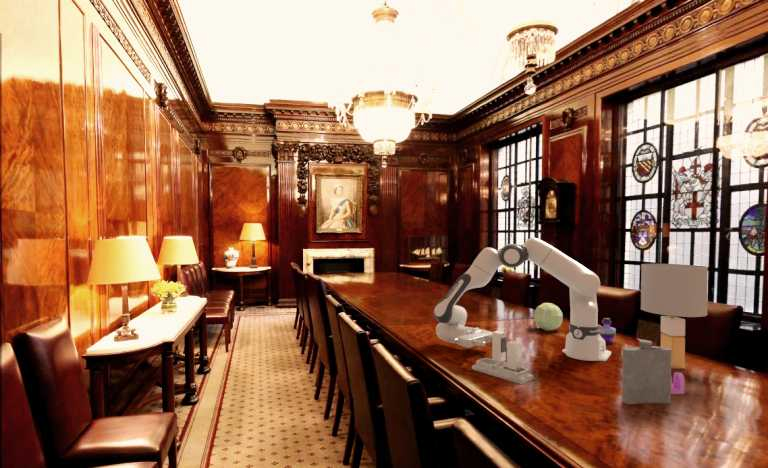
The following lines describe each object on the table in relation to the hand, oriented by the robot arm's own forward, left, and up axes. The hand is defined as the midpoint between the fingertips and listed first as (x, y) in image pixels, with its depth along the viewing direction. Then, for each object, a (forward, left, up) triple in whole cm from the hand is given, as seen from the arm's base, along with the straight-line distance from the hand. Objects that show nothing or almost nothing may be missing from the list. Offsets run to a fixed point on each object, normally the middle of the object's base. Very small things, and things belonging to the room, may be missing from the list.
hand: (490, 342), depth 186 cm
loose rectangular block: (0, +4, -7) cm, 8 cm away
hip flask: (+2, +61, -7) cm, 62 cm away
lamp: (-48, +56, -7) cm, 74 cm away
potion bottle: (-67, +23, -7) cm, 71 cm away
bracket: (-18, +62, -7) cm, 64 cm away
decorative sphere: (-69, -9, -7) cm, 70 cm away
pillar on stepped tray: (+15, +15, -7) cm, 23 cm away
